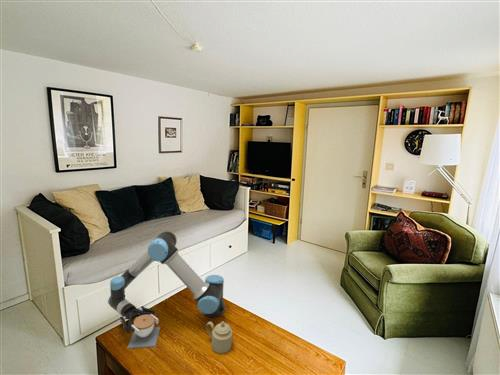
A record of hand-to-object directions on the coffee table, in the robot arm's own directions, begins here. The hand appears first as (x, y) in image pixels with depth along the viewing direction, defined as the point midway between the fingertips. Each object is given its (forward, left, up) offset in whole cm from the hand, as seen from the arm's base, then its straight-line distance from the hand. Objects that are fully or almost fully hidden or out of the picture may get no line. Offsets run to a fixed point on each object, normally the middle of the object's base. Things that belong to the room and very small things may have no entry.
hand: (148, 327), depth 140 cm
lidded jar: (+3, -3, -6) cm, 7 cm away
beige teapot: (-37, +6, -9) cm, 39 cm away
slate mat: (+3, -3, -9) cm, 10 cm away
